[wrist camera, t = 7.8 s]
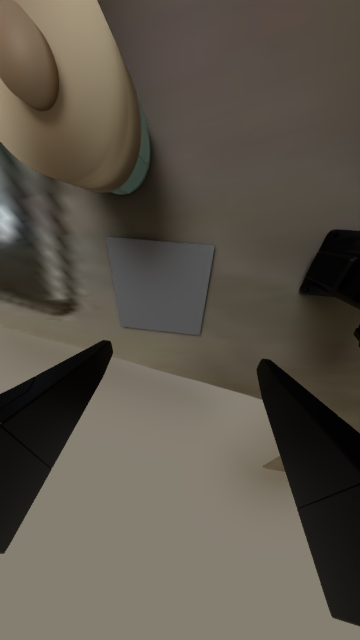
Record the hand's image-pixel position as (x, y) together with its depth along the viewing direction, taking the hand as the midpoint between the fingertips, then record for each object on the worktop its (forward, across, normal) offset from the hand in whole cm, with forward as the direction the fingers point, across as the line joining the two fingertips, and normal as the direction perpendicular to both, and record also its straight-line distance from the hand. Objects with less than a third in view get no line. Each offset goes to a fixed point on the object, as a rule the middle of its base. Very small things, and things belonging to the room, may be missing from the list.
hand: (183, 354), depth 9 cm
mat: (+12, +4, +1) cm, 13 cm away
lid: (+8, +8, -12) cm, 16 cm away
